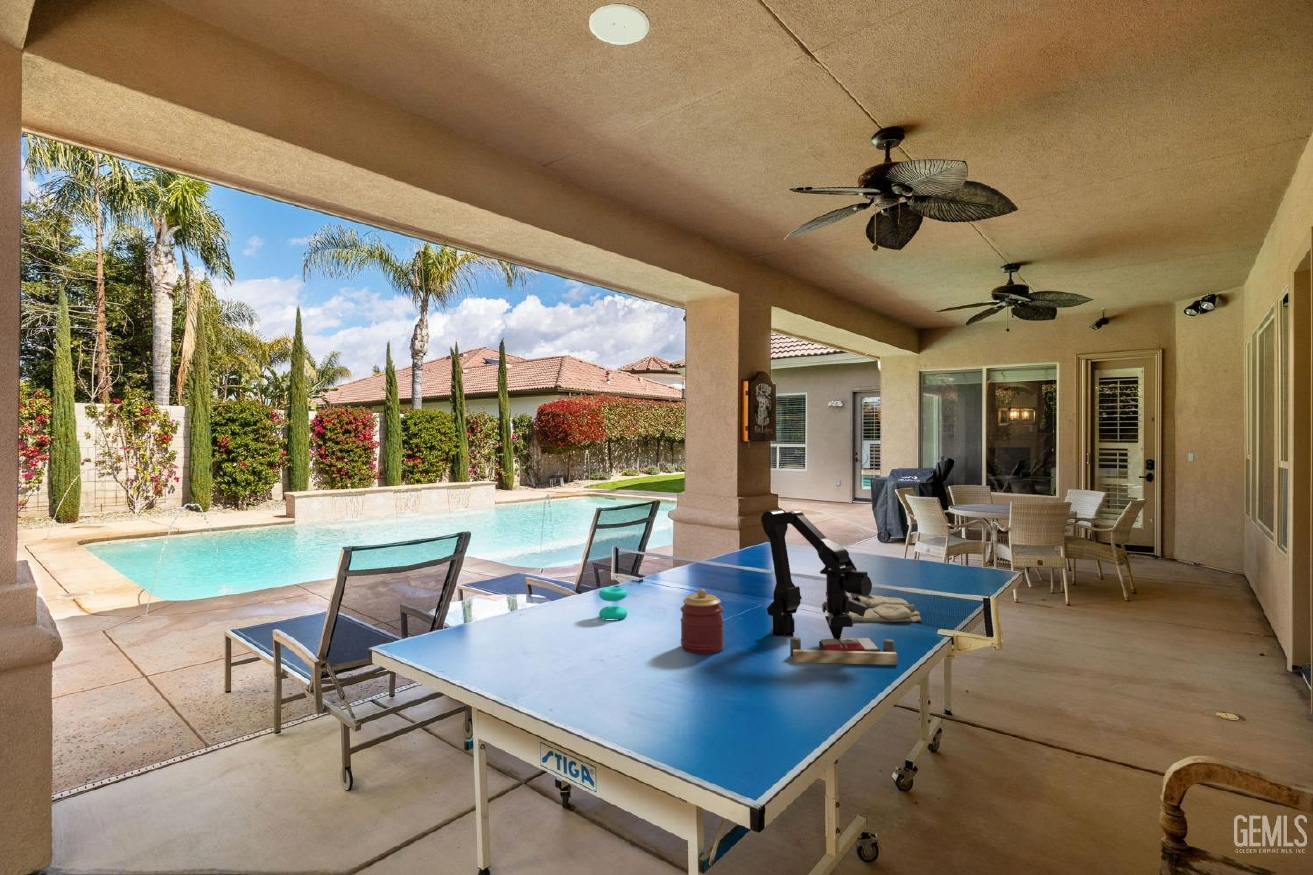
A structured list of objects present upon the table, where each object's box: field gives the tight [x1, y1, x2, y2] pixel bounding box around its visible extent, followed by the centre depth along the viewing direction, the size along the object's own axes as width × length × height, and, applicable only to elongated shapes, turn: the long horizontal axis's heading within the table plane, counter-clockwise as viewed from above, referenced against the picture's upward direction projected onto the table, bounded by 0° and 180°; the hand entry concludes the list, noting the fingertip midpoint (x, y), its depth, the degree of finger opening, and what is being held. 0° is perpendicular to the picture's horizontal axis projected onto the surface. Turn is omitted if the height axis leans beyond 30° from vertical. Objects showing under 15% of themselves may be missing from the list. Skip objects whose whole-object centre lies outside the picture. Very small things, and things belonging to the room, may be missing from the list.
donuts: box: [598, 586, 628, 620], centre depth 233 cm, size 10×10×10 cm
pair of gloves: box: [843, 593, 922, 623], centre depth 236 cm, size 30×26×5 cm
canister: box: [679, 588, 725, 655], centre depth 197 cm, size 13×13×18 cm
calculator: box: [818, 637, 881, 652], centre depth 189 cm, size 11×4×15 cm
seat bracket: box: [789, 636, 898, 666], centre depth 185 cm, size 29×7×5 cm, turn 83°
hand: (837, 642), depth 196 cm, fingers closed
